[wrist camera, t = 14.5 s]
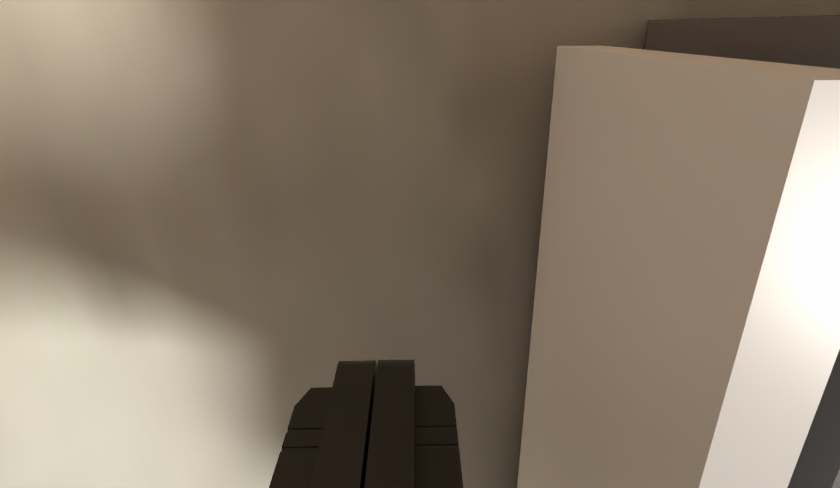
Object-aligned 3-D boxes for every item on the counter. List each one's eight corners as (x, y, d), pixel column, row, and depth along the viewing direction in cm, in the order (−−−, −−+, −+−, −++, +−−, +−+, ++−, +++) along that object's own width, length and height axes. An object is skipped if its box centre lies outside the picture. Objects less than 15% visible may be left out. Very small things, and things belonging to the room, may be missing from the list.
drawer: (510, 556, 14) (576, 918, 8) (557, 45, 9) (815, 80, 3) (833, 551, 14) (1117, 906, 8) (1068, 40, 9) (2225, 64, 3)
